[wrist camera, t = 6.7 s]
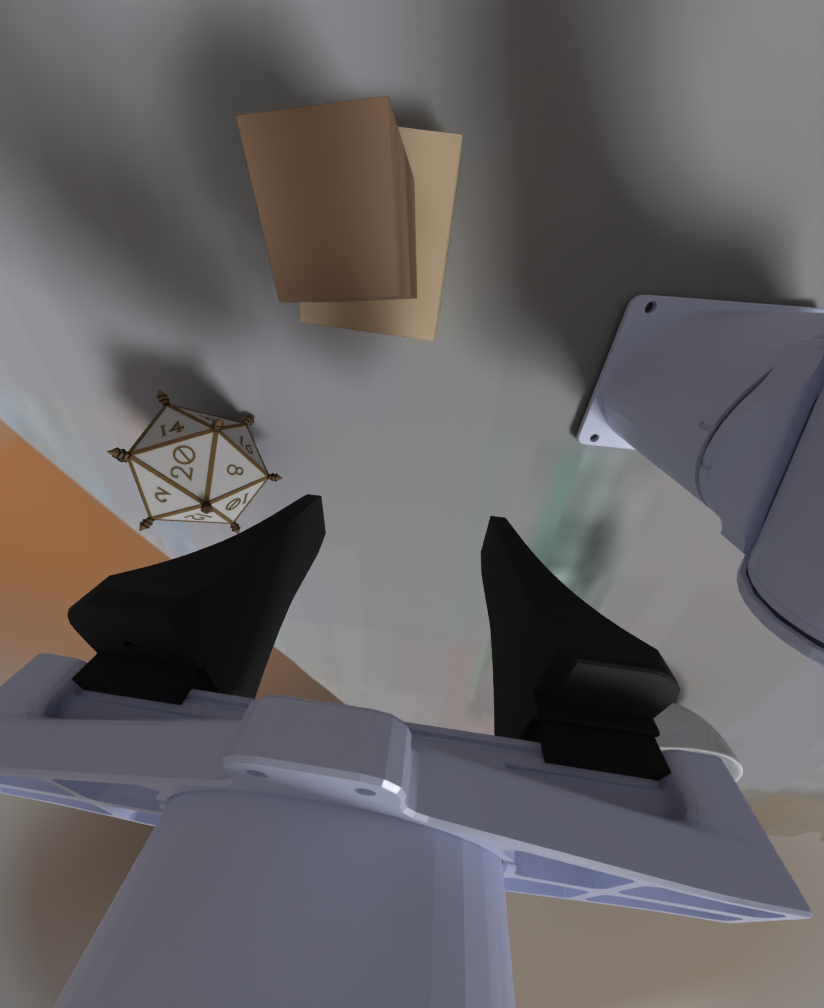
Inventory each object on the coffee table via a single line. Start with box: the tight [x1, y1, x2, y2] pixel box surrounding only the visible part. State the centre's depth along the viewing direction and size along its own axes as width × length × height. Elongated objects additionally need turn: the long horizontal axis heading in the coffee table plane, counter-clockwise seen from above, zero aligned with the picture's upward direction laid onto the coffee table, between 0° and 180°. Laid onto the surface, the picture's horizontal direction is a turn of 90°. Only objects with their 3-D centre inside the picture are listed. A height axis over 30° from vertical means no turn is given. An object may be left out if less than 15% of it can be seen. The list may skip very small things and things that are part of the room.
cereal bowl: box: [654, 703, 743, 782], centre depth 35 cm, size 17×17×7 cm
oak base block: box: [299, 127, 462, 341], centre depth 15 cm, size 7×7×3 cm
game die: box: [107, 390, 283, 534], centre depth 20 cm, size 9×8×10 cm
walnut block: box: [236, 96, 417, 302], centre depth 11 cm, size 4×4×6 cm
